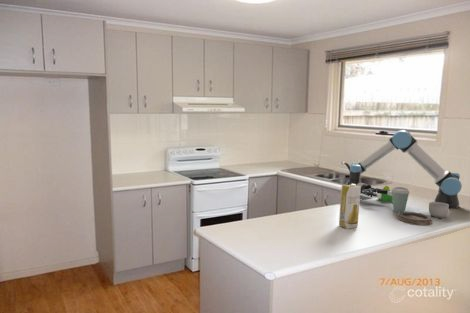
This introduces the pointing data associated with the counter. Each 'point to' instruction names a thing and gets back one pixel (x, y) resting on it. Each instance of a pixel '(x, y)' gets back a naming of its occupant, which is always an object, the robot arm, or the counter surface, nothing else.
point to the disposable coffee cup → (399, 198)
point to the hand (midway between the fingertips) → (388, 195)
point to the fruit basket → (385, 196)
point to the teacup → (438, 209)
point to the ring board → (414, 218)
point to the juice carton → (349, 206)
